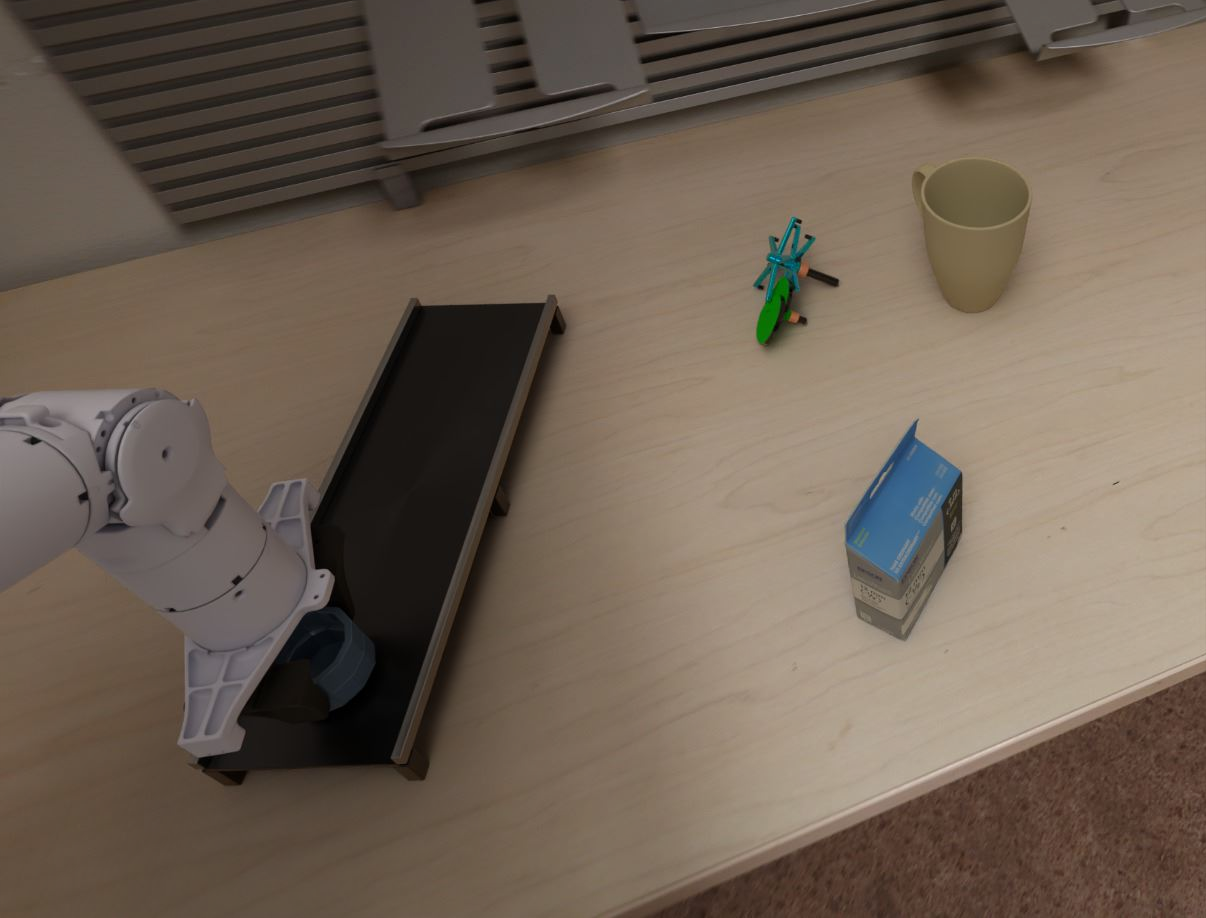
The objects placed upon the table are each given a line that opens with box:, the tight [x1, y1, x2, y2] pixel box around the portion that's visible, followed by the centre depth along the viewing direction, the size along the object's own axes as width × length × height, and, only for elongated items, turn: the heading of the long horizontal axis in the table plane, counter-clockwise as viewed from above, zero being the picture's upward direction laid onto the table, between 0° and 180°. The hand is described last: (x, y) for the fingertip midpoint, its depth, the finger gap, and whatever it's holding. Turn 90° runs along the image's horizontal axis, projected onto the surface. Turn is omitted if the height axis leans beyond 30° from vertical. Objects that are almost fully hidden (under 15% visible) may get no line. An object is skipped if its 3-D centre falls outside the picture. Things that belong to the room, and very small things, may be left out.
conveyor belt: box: [186, 294, 567, 787], centre depth 68 cm, size 36×12×4 cm, turn 1°
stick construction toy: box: [752, 216, 840, 346], centre depth 82 cm, size 12×7×8 cm
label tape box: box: [844, 418, 964, 642], centre depth 61 cm, size 9×4×12 cm, turn 151°
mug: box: [911, 156, 1033, 314], centre depth 80 cm, size 11×10×12 cm
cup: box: [274, 606, 376, 711], centre depth 56 cm, size 5×5×4 cm
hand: (324, 666), depth 57 cm, fingers closed on cup, 5 cm apart
